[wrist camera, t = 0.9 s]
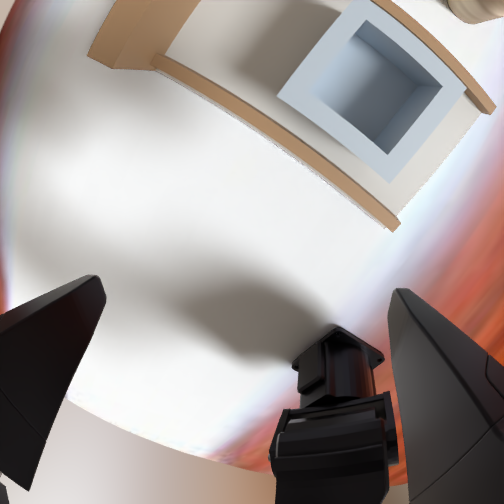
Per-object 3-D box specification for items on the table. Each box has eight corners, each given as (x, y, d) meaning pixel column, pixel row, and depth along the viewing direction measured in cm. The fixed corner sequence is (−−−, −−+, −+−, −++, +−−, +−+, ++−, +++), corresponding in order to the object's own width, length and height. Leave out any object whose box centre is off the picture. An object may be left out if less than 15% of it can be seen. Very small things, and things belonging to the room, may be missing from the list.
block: (434, 86, 14) (466, 88, 10) (371, 164, 17) (389, 184, 13) (347, 13, 13) (359, -8, 9) (282, 95, 16) (276, 96, 12)
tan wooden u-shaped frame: (482, 99, 14) (535, 110, 9) (381, 222, 20) (404, 269, 15) (237, -73, 11) (214, -115, 6) (139, 59, 17) (86, 55, 12)
